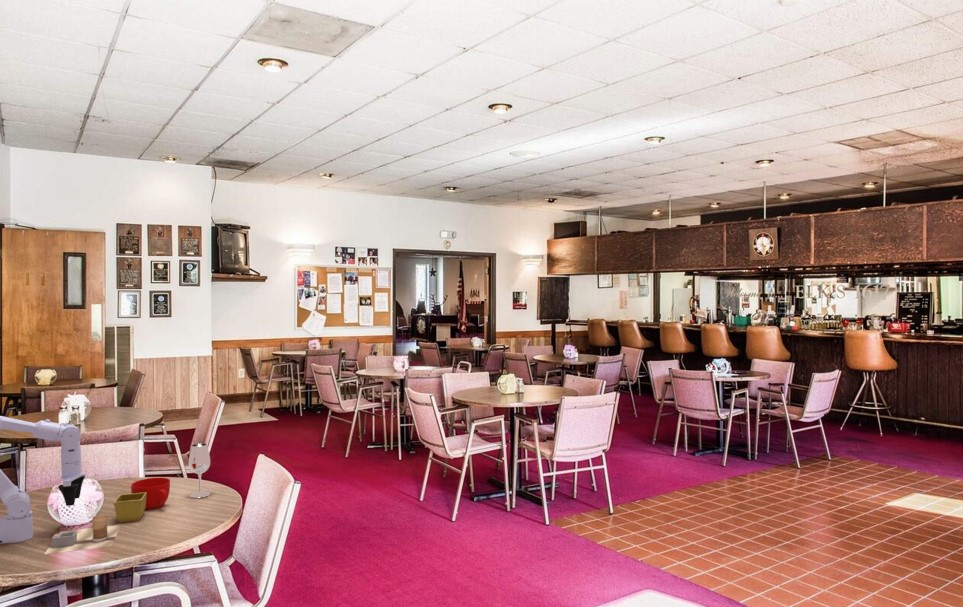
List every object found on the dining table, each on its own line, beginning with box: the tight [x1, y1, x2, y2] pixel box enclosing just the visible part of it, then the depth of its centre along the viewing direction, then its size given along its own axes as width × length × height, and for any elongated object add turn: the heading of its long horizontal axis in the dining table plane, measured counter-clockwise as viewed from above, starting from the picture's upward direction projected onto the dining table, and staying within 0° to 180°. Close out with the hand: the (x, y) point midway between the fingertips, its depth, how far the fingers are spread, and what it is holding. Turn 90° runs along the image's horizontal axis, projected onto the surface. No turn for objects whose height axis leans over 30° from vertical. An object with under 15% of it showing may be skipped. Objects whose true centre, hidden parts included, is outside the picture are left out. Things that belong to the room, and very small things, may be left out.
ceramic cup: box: [130, 477, 171, 510], centre depth 246 cm, size 13×17×10 cm
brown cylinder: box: [92, 514, 108, 543], centre depth 214 cm, size 4×4×8 cm
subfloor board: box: [43, 524, 122, 555], centre depth 215 cm, size 18×20×2 cm
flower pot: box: [113, 492, 147, 523], centre depth 234 cm, size 9×9×9 cm
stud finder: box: [51, 531, 77, 548], centre depth 210 cm, size 6×4×3 cm, turn 110°
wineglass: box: [188, 442, 211, 499], centre depth 263 cm, size 8×8×20 cm
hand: (73, 501), depth 224 cm, fingers open, 7 cm apart
